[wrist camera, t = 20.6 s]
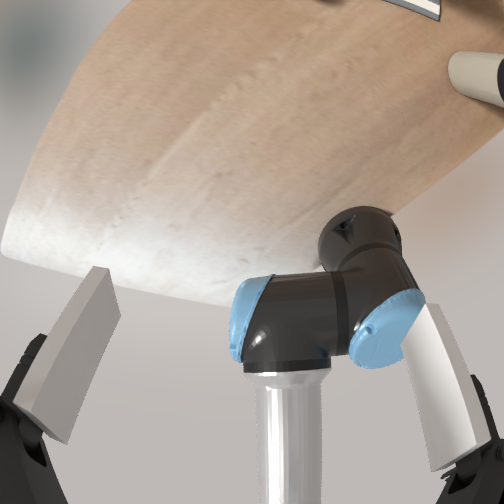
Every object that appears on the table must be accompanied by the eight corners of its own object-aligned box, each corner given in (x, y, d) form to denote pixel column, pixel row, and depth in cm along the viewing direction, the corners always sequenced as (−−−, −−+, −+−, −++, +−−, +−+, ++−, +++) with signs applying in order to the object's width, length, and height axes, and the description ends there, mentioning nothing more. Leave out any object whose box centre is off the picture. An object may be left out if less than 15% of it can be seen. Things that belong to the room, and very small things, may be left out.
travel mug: (446, 46, 31) (520, 50, 16) (482, 57, 30) (556, 70, 15) (446, 91, 35) (519, 115, 20) (482, 100, 34) (553, 128, 19)
